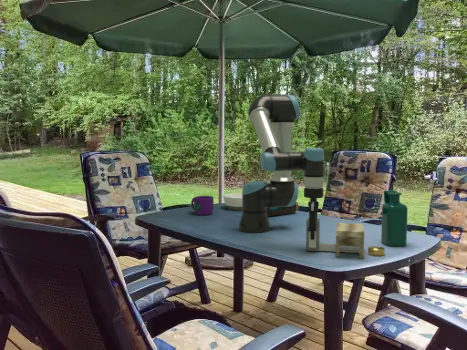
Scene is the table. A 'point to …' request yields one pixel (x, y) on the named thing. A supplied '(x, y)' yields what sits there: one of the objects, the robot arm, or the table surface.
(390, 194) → the green bottle
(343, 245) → the bracket
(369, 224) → the table surface
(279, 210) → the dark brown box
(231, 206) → the bowl
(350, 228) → the shelf
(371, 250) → the yellow lumpy disc
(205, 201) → the mug
